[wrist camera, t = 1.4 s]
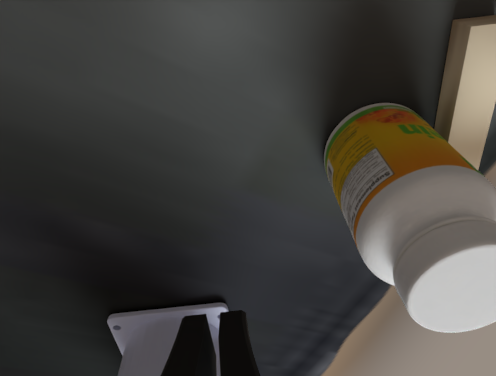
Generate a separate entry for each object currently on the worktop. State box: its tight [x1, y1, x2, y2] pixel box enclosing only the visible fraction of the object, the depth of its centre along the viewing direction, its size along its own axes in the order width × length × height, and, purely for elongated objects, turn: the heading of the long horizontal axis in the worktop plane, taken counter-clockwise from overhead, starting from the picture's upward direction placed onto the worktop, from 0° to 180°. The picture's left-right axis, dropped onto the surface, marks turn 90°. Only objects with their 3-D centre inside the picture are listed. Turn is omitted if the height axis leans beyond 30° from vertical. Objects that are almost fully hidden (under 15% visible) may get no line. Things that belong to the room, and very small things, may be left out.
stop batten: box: [434, 15, 496, 170], centre depth 20 cm, size 13×2×2 cm, turn 6°
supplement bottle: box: [324, 103, 496, 333], centre depth 16 cm, size 5×5×10 cm
